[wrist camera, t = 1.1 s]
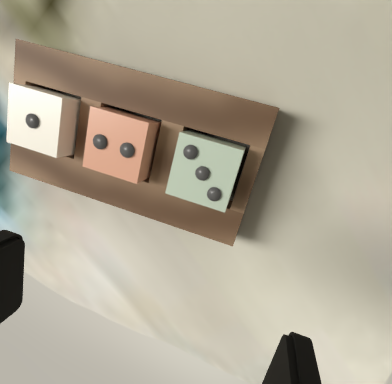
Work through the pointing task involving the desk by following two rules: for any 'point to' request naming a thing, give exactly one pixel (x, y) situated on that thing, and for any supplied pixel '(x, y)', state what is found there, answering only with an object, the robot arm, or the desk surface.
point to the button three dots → (204, 169)
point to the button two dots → (120, 144)
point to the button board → (168, 136)
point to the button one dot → (42, 120)
